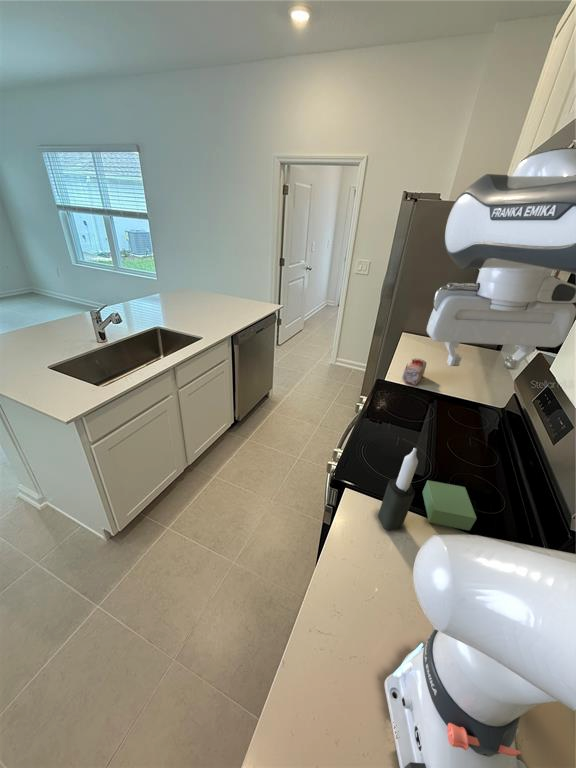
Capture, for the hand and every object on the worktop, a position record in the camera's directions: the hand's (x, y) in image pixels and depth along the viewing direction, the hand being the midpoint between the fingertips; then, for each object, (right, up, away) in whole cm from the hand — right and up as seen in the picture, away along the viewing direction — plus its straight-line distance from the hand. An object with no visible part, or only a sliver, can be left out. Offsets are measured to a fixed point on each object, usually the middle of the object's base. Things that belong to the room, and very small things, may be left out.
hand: (481, 366), depth 53 cm
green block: (+9, -37, +30) cm, 49 cm away
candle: (-7, -39, +26) cm, 47 cm away
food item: (+26, -1, +94) cm, 97 cm away
